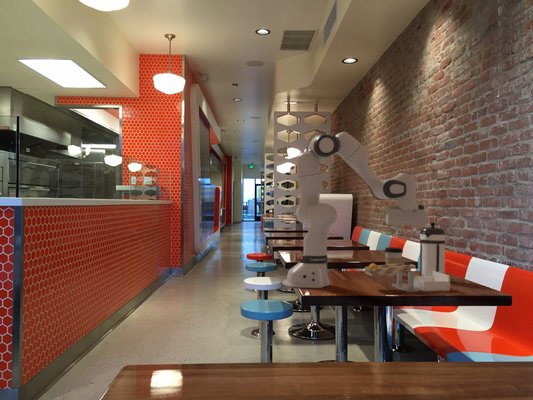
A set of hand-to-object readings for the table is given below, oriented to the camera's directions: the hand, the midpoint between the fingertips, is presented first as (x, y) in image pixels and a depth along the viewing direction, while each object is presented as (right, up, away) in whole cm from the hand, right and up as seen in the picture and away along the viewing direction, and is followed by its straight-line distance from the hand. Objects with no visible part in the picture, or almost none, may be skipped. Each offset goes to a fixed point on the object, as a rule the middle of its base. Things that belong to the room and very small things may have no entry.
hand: (406, 234), depth 203 cm
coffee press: (+19, -25, +16) cm, 35 cm away
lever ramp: (-10, -17, -6) cm, 21 cm away
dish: (+8, -25, -8) cm, 27 cm away
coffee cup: (+1, -25, +25) cm, 36 cm away
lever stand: (-4, -24, -10) cm, 26 cm away
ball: (-19, -14, -12) cm, 26 cm away
